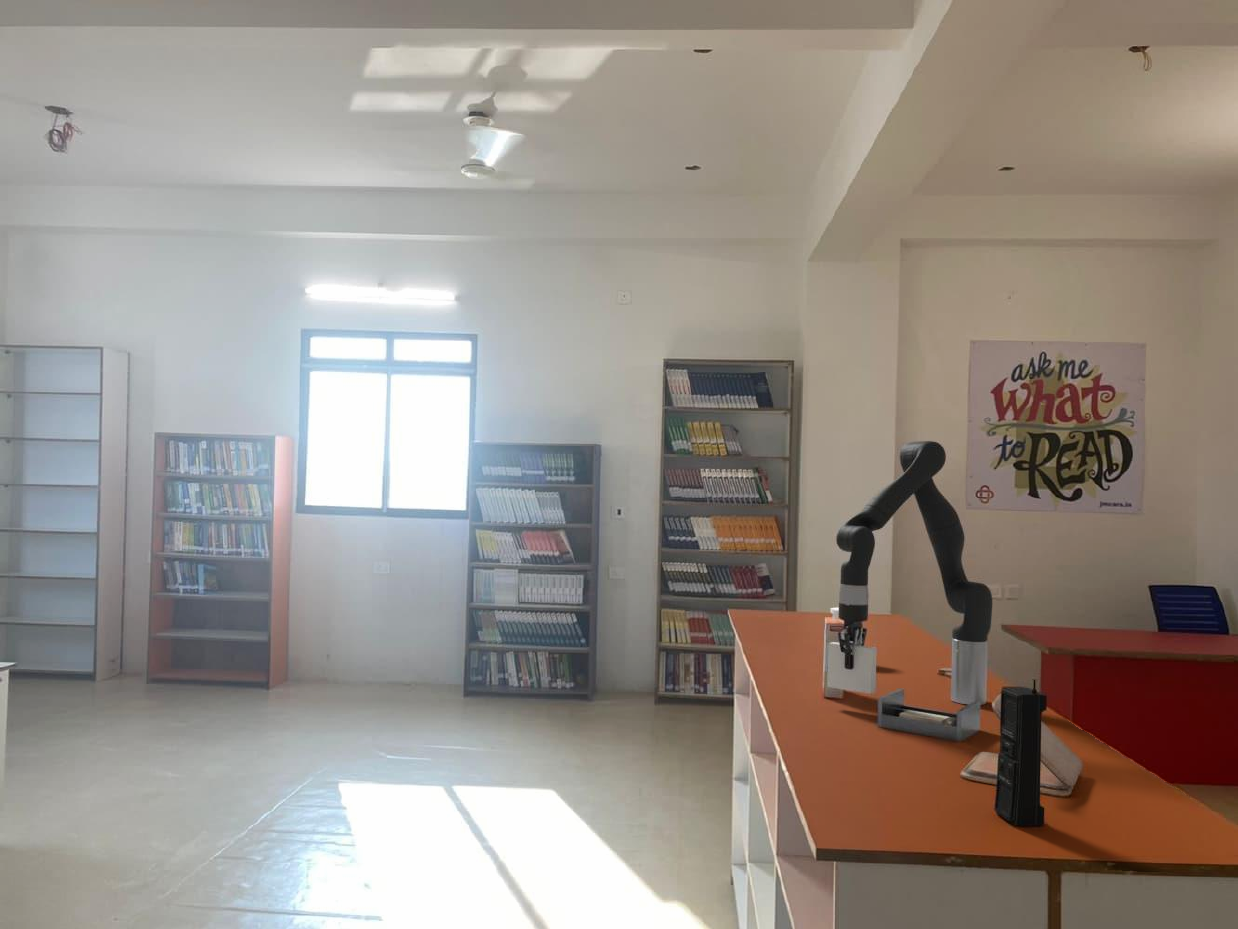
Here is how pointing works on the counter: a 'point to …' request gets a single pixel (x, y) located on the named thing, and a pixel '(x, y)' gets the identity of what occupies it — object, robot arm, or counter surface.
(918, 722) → the rack
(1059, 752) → the case
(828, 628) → the cracker box
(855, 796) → the counter surface
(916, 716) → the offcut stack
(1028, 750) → the portable radio
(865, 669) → the tall board
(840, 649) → the robot arm
